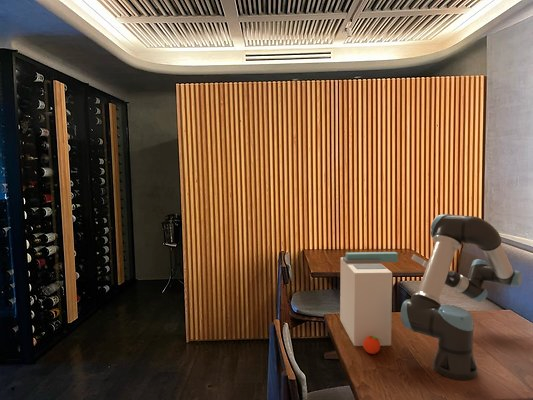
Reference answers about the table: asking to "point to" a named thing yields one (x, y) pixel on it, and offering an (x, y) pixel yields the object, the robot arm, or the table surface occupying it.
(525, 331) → the table surface
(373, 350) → the tomato
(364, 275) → the tall cream box
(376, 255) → the teal block
